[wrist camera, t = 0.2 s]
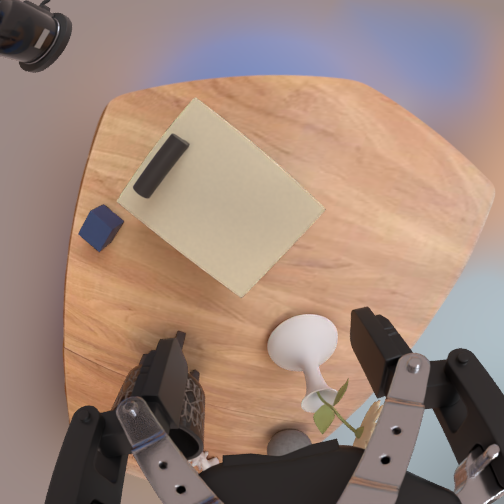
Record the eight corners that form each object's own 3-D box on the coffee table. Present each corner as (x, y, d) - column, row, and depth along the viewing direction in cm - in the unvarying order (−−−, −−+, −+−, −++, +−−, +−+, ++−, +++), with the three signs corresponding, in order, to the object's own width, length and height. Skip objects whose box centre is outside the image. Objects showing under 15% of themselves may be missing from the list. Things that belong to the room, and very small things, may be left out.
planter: (144, 314, 41) (106, 398, 24) (221, 340, 43) (216, 432, 26) (134, 366, 45) (105, 443, 28) (200, 388, 47) (191, 469, 30)
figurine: (201, 467, 59) (173, 463, 54) (210, 446, 62) (181, 441, 57) (223, 482, 52) (193, 480, 47) (233, 459, 55) (203, 456, 50)
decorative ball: (264, 423, 52) (268, 461, 43) (310, 418, 52) (318, 454, 43) (265, 443, 56) (268, 477, 46) (306, 439, 56) (312, 471, 46)
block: (91, 225, 35) (78, 234, 32) (103, 204, 34) (90, 210, 31) (111, 242, 36) (99, 252, 33) (124, 221, 35) (112, 229, 32)
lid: (119, 200, 26) (97, 211, 21) (196, 98, 23) (186, 87, 18) (241, 294, 30) (242, 321, 25) (323, 208, 27) (340, 220, 22)
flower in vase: (310, 368, 46) (345, 491, 23) (254, 351, 44) (265, 492, 21) (353, 313, 42) (424, 437, 19) (294, 288, 40) (347, 437, 17)
